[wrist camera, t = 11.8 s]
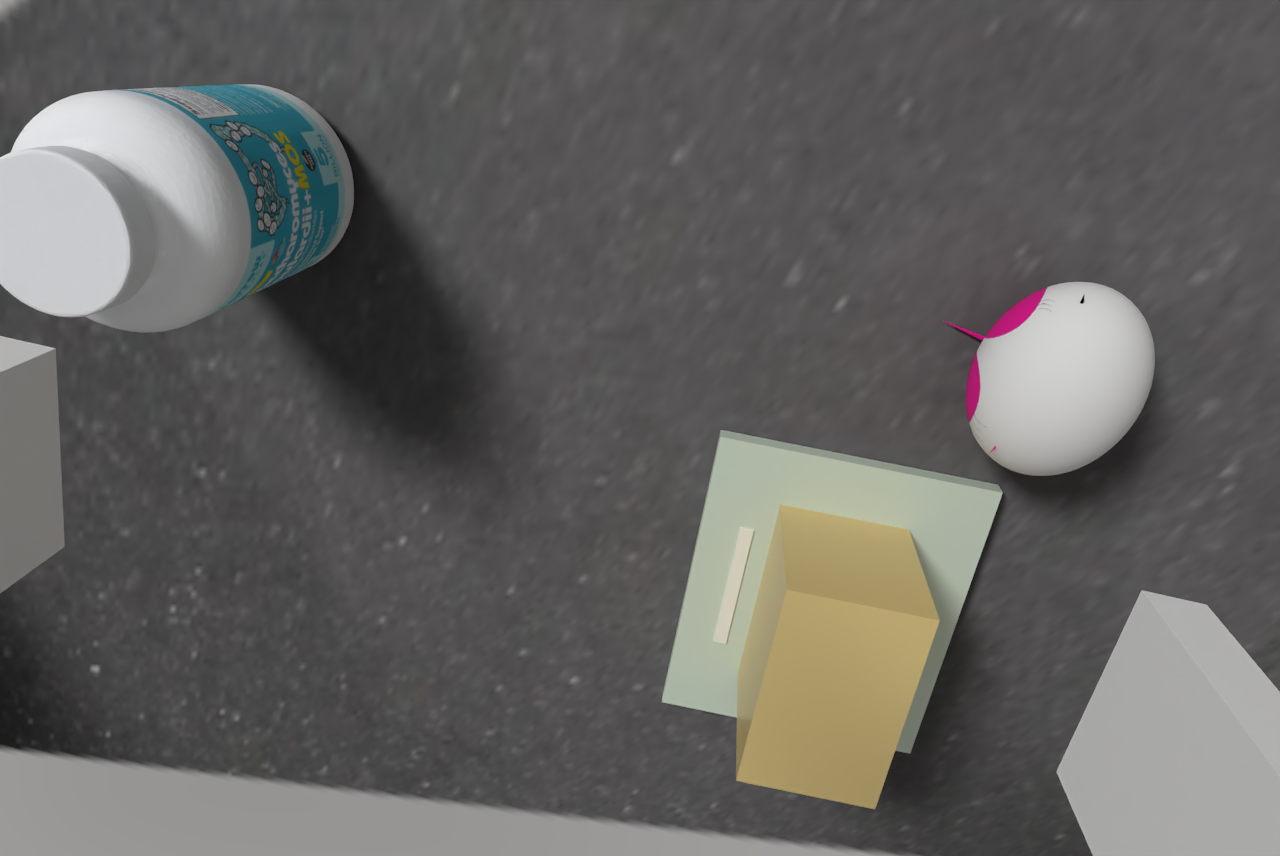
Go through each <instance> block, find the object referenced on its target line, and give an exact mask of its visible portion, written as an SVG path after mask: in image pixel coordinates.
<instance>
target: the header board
mask: <svg viewBox="0 0 1280 856" xmlns="http://www.w3.org/2000/svg"><path fill="white" fill-rule="evenodd" d="M1002 494H1003V492H1002V490H1001V489H1000V487H999V485H997V484H992V483H987V482H982V481H977V480H972V479H967V478H962V477H957V476H952V475H947V474H942V473H937V472H932V471H926V470H921V469H916V468H911V467H906V466H901V465H896V464H891V463H886V462H881V461H876V460H871V459H866V458H861V457H856V456H851V455H846V454H841V453H836V452H831V451H825V450H820V449H815V448H810V447H805V446H800V445H795V444H790V443H785V442H780V441H775V440H770V439H765V438H760V437H755V436H750V435H745V434H740V433H735V432H730V431H724V430H721V431H720V435H719V440H718V444H717V449H716V454H715V458H714V463H713V467H712V472H711V476H710V481H709V485H708V490H707V494H706V499H705V503H704V508H703V513H702V517H701V522H700V526H699V531H698V535H697V540H696V544H695V549H694V553H693V558H692V562H691V567H690V571H689V576H688V581H687V585H686V590H685V594H684V599H683V603H682V608H681V612H680V617H679V621H678V626H677V630H676V635H675V640H674V644H673V649H672V653H671V658H670V662H669V667H668V671H667V676H666V680H665V685H664V689H663V696H662V702H664V703H669V704H674V705H678V706H683V707H688V708H693V709H698V710H702V711H707V712H712V713H717V714H722V715H726V716H731V717H736V718H737V680H738V670H739V666H740V662H741V658H742V654H743V650H744V646H745V642H746V638H747V634H748V630H749V626H750V622H751V618H752V614H753V611H754V607H755V603H756V599H757V595H758V591H759V587H760V583H761V579H762V575H763V571H764V567H765V563H766V559H767V555H768V551H769V547H770V543H771V539H772V535H773V531H774V527H775V523H776V519H777V515H778V511H779V507H780V504H781V505H786V506H791V507H796V508H801V509H806V510H811V511H817V512H822V513H827V514H832V515H837V516H842V517H847V518H852V519H857V520H862V521H867V522H872V523H877V524H882V525H887V526H893V527H898V528H903V529H908V530H909V531H910V534H911V537H912V540H913V543H914V546H915V549H916V552H917V555H918V558H919V561H920V564H921V567H922V570H923V572H924V575H925V578H926V581H927V584H928V587H929V590H930V593H931V596H932V599H933V602H934V605H935V608H936V611H937V614H938V617H939V620H940V621H939V624H938V627H937V630H936V633H935V636H934V639H933V642H932V645H931V648H930V651H929V654H928V656H927V659H926V662H925V665H924V668H923V671H922V674H921V677H920V680H919V683H918V686H917V689H916V691H915V694H914V697H913V700H912V703H911V706H910V709H909V712H908V715H907V718H906V721H905V724H904V726H903V729H902V732H901V735H900V738H899V741H898V744H897V747H896V750H895V751H899V752H904V753H909V754H910V753H911V750H912V747H913V744H914V741H915V739H916V736H917V733H918V730H919V727H920V725H921V722H922V719H923V716H924V713H925V710H926V708H927V705H928V702H929V699H930V696H931V694H932V691H933V688H934V685H935V682H936V679H937V677H938V674H939V671H940V668H941V665H942V663H943V660H944V657H945V654H946V651H947V649H948V646H949V643H950V640H951V637H952V634H953V632H954V629H955V626H956V623H957V620H958V618H959V615H960V612H961V609H962V606H963V604H964V601H965V598H966V595H967V592H968V589H969V587H970V584H971V581H972V578H973V575H974V573H975V570H976V567H977V564H978V561H979V559H980V556H981V553H982V550H983V547H984V544H985V542H986V539H987V536H988V533H989V530H990V528H991V525H992V522H993V519H994V516H995V513H996V511H997V508H998V505H999V502H1000V499H1001V497H1002Z"/></svg>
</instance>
